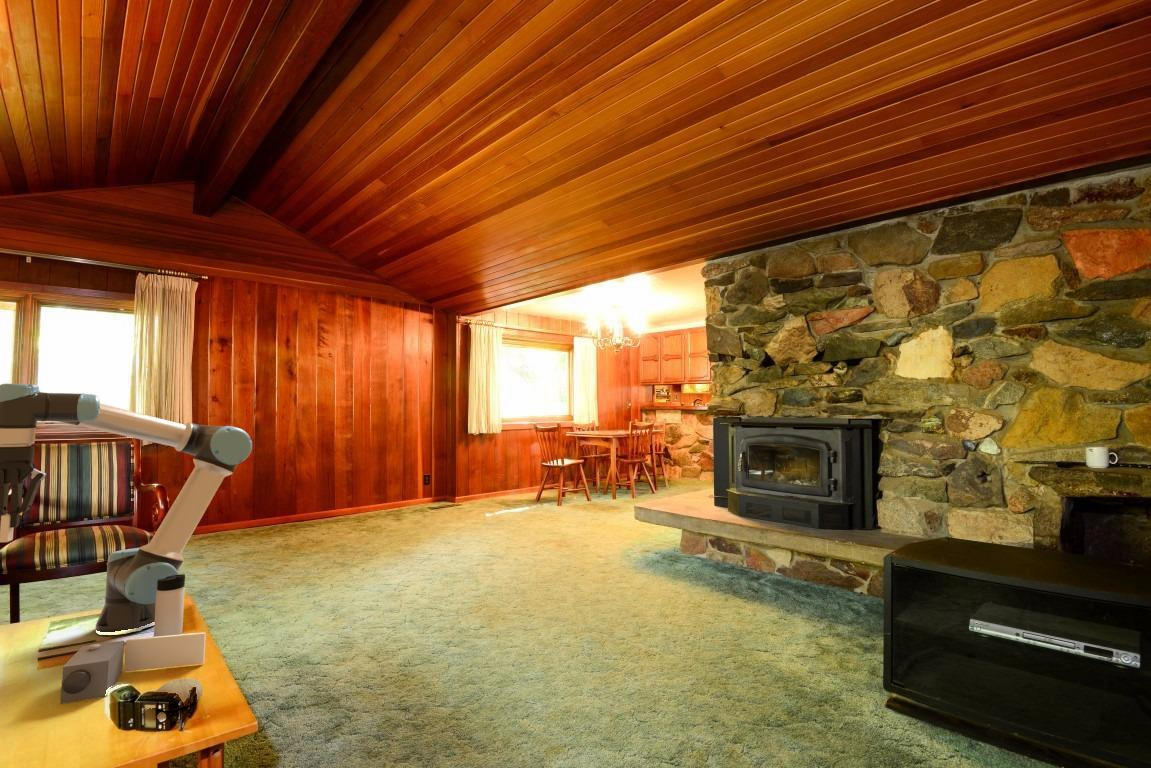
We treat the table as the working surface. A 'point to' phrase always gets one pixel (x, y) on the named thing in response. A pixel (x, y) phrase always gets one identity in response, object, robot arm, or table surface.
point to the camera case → (92, 671)
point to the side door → (164, 651)
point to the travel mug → (169, 605)
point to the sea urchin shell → (182, 687)
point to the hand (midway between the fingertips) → (6, 541)
